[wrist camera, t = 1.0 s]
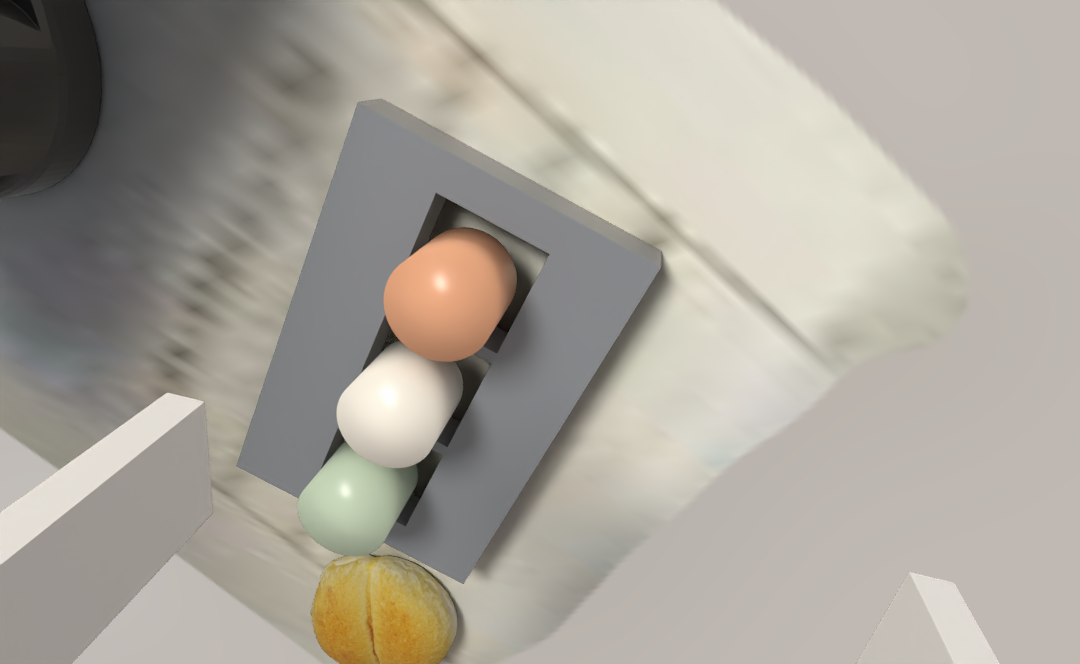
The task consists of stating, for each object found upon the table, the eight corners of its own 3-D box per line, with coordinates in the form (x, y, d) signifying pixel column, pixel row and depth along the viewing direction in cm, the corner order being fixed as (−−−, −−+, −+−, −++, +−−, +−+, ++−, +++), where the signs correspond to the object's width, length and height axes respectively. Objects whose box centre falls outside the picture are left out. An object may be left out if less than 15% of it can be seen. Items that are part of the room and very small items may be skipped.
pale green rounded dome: (327, 477, 34) (286, 528, 30) (353, 417, 32) (313, 463, 28) (400, 515, 34) (368, 570, 30) (430, 458, 32) (400, 508, 28)
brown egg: (405, 293, 29) (368, 328, 25) (441, 208, 27) (407, 232, 23) (491, 339, 29) (466, 380, 25) (533, 258, 27) (513, 289, 23)
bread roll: (463, 655, 41) (443, 713, 38) (334, 632, 43) (304, 686, 39) (459, 557, 38) (437, 610, 34) (320, 536, 39) (285, 585, 36)
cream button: (363, 393, 31) (323, 437, 28) (393, 322, 29) (355, 359, 26) (442, 435, 31) (413, 484, 28) (477, 367, 29) (451, 410, 26)
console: (261, 441, 37) (236, 466, 35) (382, 98, 28) (358, 102, 26) (475, 553, 37) (463, 583, 35) (661, 251, 28) (660, 267, 26)
